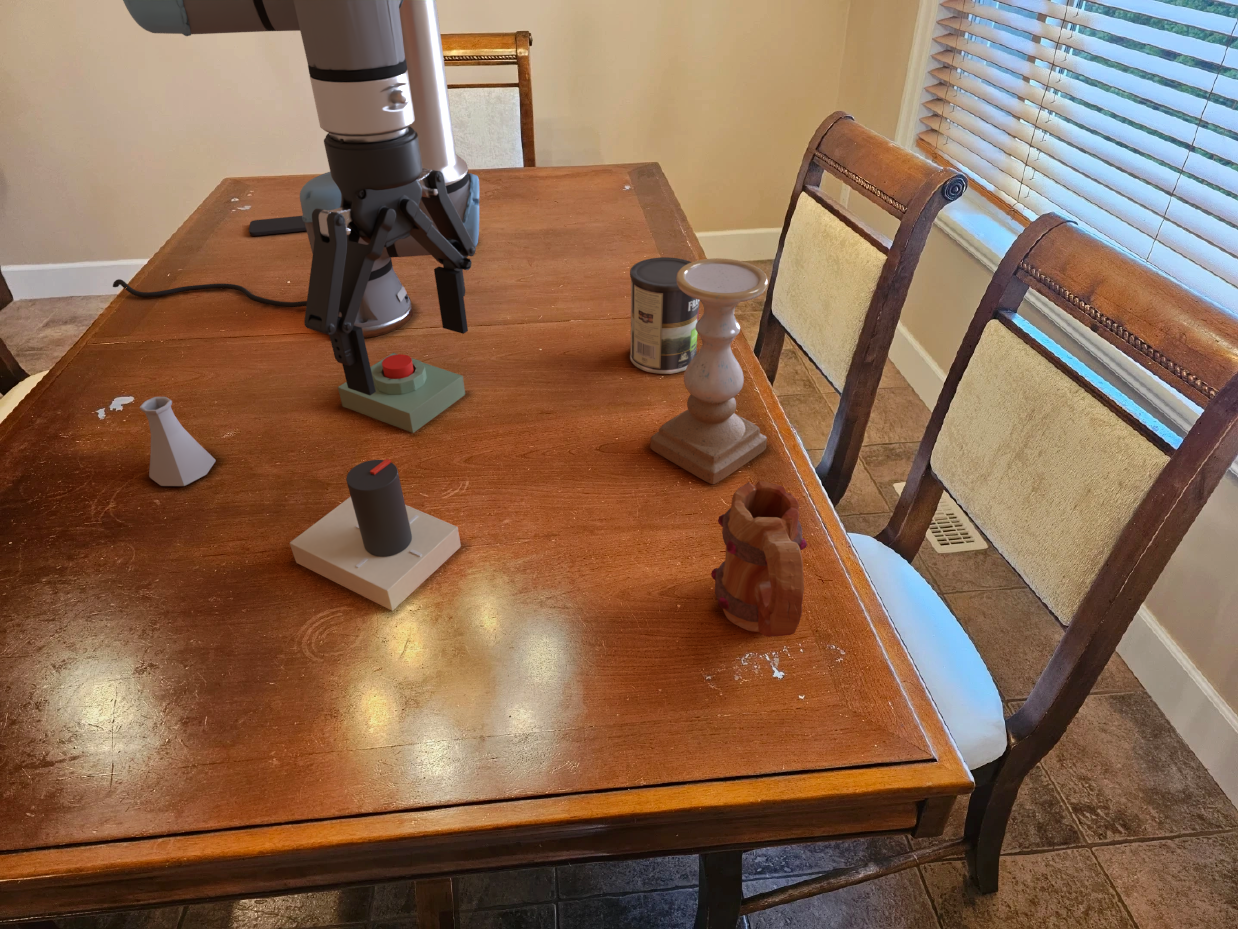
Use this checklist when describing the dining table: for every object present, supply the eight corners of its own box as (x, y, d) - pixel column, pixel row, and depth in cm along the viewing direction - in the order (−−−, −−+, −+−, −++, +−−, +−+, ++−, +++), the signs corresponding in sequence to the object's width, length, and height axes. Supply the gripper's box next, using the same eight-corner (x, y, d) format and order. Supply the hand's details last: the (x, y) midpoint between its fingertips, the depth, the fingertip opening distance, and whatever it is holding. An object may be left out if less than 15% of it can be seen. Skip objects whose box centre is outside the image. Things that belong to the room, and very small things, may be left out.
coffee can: (700, 344, 125) (706, 259, 116) (691, 378, 117) (697, 289, 108) (636, 338, 127) (637, 253, 118) (623, 370, 119) (623, 282, 110)
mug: (703, 577, 85) (714, 466, 75) (779, 573, 85) (798, 461, 76) (730, 692, 73) (746, 577, 64) (817, 686, 74) (845, 570, 64)
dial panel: (295, 562, 87) (288, 541, 85) (368, 506, 94) (363, 485, 92) (392, 611, 81) (386, 589, 79) (461, 546, 88) (457, 525, 87)
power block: (342, 406, 111) (334, 375, 108) (396, 371, 119) (391, 341, 116) (413, 433, 106) (407, 401, 103) (465, 394, 113) (461, 364, 110)
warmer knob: (389, 563, 82) (372, 493, 76) (354, 546, 84) (334, 477, 78) (421, 534, 86) (407, 466, 80) (387, 519, 88) (370, 451, 82)
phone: (326, 225, 163) (248, 233, 159) (327, 229, 164) (249, 237, 160) (325, 213, 169) (250, 220, 165) (326, 217, 169) (251, 224, 166)
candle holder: (703, 415, 109) (715, 248, 95) (767, 448, 103) (791, 275, 88) (648, 448, 103) (652, 275, 89) (713, 486, 97) (729, 307, 82)
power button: (378, 375, 109) (375, 364, 108) (398, 362, 112) (396, 351, 111) (400, 382, 107) (397, 371, 106) (419, 369, 110) (417, 358, 109)
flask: (227, 459, 101) (202, 393, 95) (185, 493, 96) (156, 425, 90) (182, 448, 103) (154, 382, 97) (138, 481, 98) (106, 414, 92)
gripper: (282, 178, 55) (347, 431, 68) (497, 102, 72) (516, 315, 85) (209, 163, 58) (284, 408, 71) (433, 93, 75) (460, 300, 88)
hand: (411, 358), depth 78 cm, fingers open, 13 cm apart
